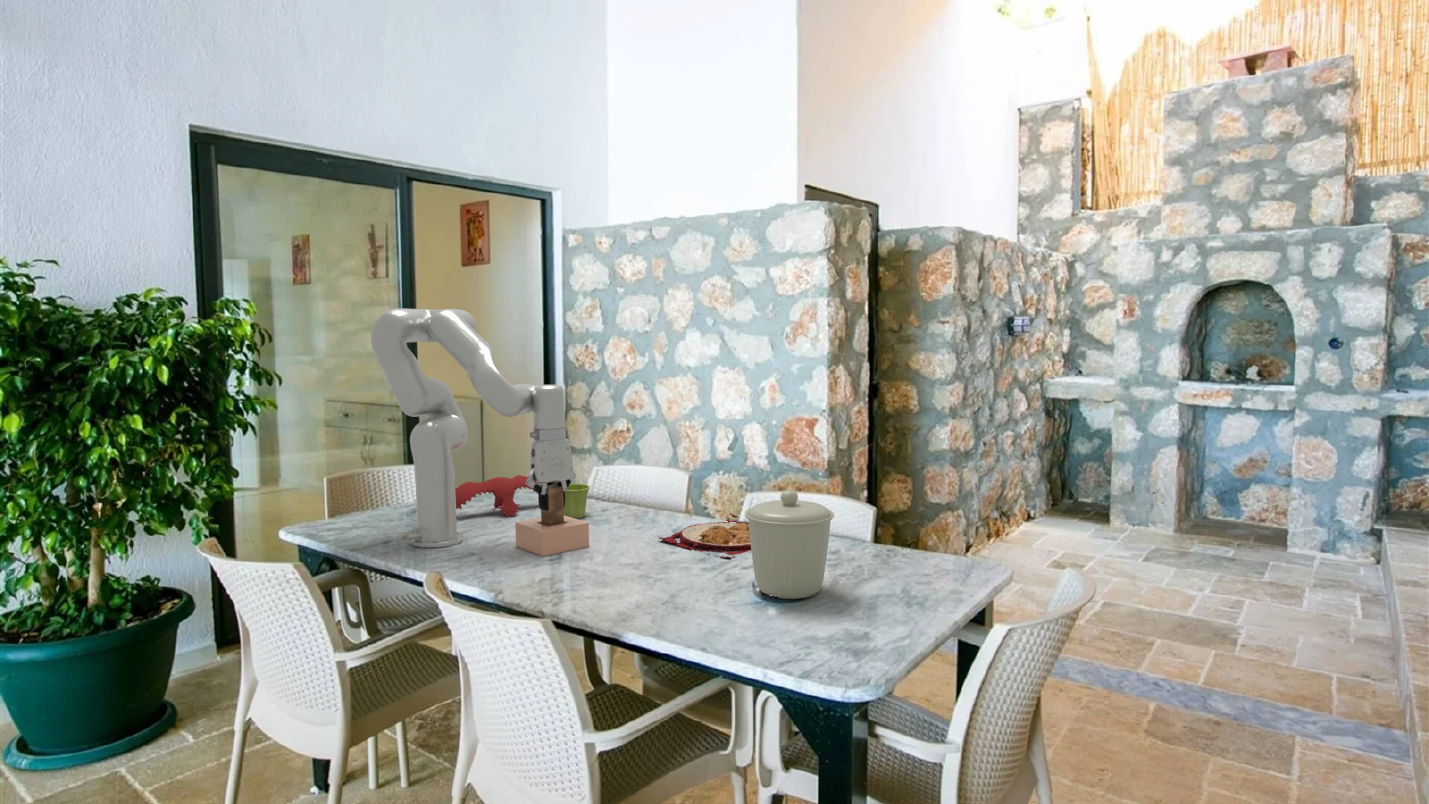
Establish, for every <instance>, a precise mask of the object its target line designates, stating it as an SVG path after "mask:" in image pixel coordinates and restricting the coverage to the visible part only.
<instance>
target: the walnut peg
mask: <svg viewBox="0 0 1429 804" xmlns="http://www.w3.org/2000/svg"><path fill="white" fill-rule="evenodd" d="M546 494H547V495H548V510H547V511H545V510H541V509H540V512H541V513H540V515H541V517H540V518H541V522H542V525H545V526H553V525H558V524H564V505H563V487H562V486H558V485H556V484H551V485H550V484H549V485H547V489H546Z"/></svg>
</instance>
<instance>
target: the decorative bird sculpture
mask: <svg viewBox="0 0 1429 804" xmlns="http://www.w3.org/2000/svg"><path fill="white" fill-rule="evenodd" d="M527 478H528V476H526V475H520V474H519V475H515V476H514V477H512V478H510V477H504V476H499V477H493V478H490V479H487V480H484V481H481V482H479V481H478V482H475V481H474V482H473V481H467V482H463V483H462V484H460V485H459V486H457V487H455V495H456V510H457V509H460V510H461V509H463V507H462V505H467V501H468V502H471V501H472V498H476V497H477V495H479V496H482V494H484V495H486V494H487V493H488V494H492V495H493V496H494V503H493V507H494V508H492V509H491V511H493V513H495V511H496V509H499V510H500V513H501V512H503V515H504V514H505V517H509V516H510V517H511V518H513V516H517V513H518V512H519V511H518V510H520V509H521V507H520V506H521V504H518V503H516V502H514V497H515V493H516V490H518V489H520V490H522V488H523V489H524V490H525V489H526V488H528V489H529V490H533V492H535V493H536V491H535V490H534V489H533V488H531V487H529V486H528V485H526V484H525V482H526V480H527ZM534 483H535V484H537V481H534ZM536 494H537V495H538V493H536Z"/></svg>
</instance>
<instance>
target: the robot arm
mask: <svg viewBox="0 0 1429 804" xmlns="http://www.w3.org/2000/svg"><path fill="white" fill-rule="evenodd" d="M477 327H478V326H477V322H476V320H475V318H474V316H473V315H472V314H471V313H469V312H468V311H466V310H464V309H458V308H457V309H455V308H453V309H452V308H446V309H445V308H444V309H429V308H428V309H427V308H426V309H424V308H421V309H420V308H406V307H405V308H403V307H402V308H392V309H389V310H386V311H384V312H383V313H381V314H380V315H379V316H378V317H377V318H376V320H375V321H374V324H373V325H372V329H371V333H370V342H371V344H370V345H371V347H372V350H373V353H374V355H375V357H376V359H377V362H378V363H379V365H380V367H381V369H382V371H383V373H384V375H385V377H386V380H387V382H388V384H389V387H390V388H391V391H392V393H393V395H394V398H395V399H396V403H397V405H398V407H399V408H400V410H401V412H403V414H405V415H407V416H409V417H412V418H413V417H416V418H417V417H422V416H424V418H425V419H424V420H421V421H420V422H418V423H417V424H416V425H415V426H414V427H413V429H412V431H411V433H410V436H409V444H410V451H411V454H412V459H413V465H414V467H413V468H414V481H415V502H416V503H415V504H416V525H415V524H414V525H413V526H412V527H413V528H411V529H409V531H406V530H403V531H399V532H398V533H397V539H398V540H399V541H401V540H402V541H403V540H407V541H410V540H411V542H410V543H411V545H412V544H413V545H412V546H414V545H415V546H414V547H416V546H419V547H418V548H424V547H434V548H444V547H451V546H453V545H457V544H460V543H461V542H463V541H464V535H463V533H460V532H458V530H457V529H458V527H457V526H458V525H457V524H458V523H457V509H456V495H455V489H456V478H455V477H456V476H455V467H454V463H453V459H452V456H451V452H454V451H456V450H459V449H461V448H462V447H463V446H464V445H465V444H466V443H467V440H468V436H469V430H468V426H467V422H466V420H465V418H464V416H463V413H462V411H461V409H460V407H459V405H458V403H457V401H456V398H455V397H454V394H453V392H452V390H451V389H450V387H449V386H448V385H447V384H446V382H444V381H443V380H441V379H439V378H437V377H432V376H431V377H429V376H427V377H426V375H425V373H424V372H423V370H422V367H421V366H420V363H419V361H418V359H417V358H416V356H415V355H414V353H413V352H412V351H411V350H410V349H409V347H408V344H407V343H420V342H421V343H424V342H425V343H426V342H427V343H438V344H439V345H440V346H441V348H443V349H444V351H446V352H447V353H448V354H449V355H450V356H451V357H452V358H453V359H454V360H455V361H456V362H457V363H458V364H459V366H461V367H462V368H463V370H464V371H465V372H466V373H467V376H468V379H469V381H470V383H471V385H472V387H473V389H474V390H475V391H476V392H477V394H478V395H479V396H480V397H481V398H482V399H483V400H484V402H486V403H487V404H488V405H489V407H490V408H492V409H493V410H494V411H495V412H497V413H498V414H499V415H501V416H503V417H506V418H513V417H517V416H520V415H521V416H522V415H526V414H529V413H531V414H532V413H533V431H532V432H529V437H530V438H531V439H532V438H533V439H534V440H533V441H532V443H531V448H530V453H529V455H530V456H529V475H528V476H527V477H528V478H527V480H526V482H525V484H526V485H528V486H529V487H531V488H533V489H534V490H535V491H536V492H535V493H536V494H537V493H538V494H537V496H538V499H537V500H538V507H539V510H540V511H541V510H545V511H547V510H548V495H547V494H546V489H547V486H548V483H553V482H554V483H555V485H558V486H562V487H563V505H564V507H565V491H567V487H568V486H569V485H570V484H572V482H573V481H574V480H575V479H577V475H576V472H574V464H573V463H574V461H573V454H572V448H571V444H570V441H569V439H568V438H566V420H565V417H566V416H565V414H566V413H565V390H564V387H563V386H561V385H559V384H539V385H537V384H531V383H530V384H529V383H516V384H511V383H510V382H509V381H508V380H507V379H506V378H505V377H504V376H503V374H501V372H500V371H498V369H497V368H496V366H495V364H494V360H493V354H494V350H493V348H492V346H491V345H490V344H489V343H488V342H487V341H486V340H485V339H484V338H483V337H482V335H480V334H479V333H478V332H477ZM534 481H536V482H537V484H535V483H534Z"/></svg>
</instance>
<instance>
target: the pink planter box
mask: <svg viewBox="0 0 1429 804" xmlns="http://www.w3.org/2000/svg"><path fill="white" fill-rule="evenodd" d="M589 528H590V524H589V522H588V521H584V520H581V519H579V518H571V517H568V516H565V515H564V524H558V525H553V526H545V525H542V522H541V517H537V518H532V519H527V520H526V519H525V520H522V521H517V522H515V546H516V547H517V548H520V549H523V550H526V551H528V552H531V553H534V554H536V555H539V556H542V557H546V556H551V555H556V554H560V553H565V552H571V551H573V550H579V549H583V548H588V547H590V529H589Z"/></svg>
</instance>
